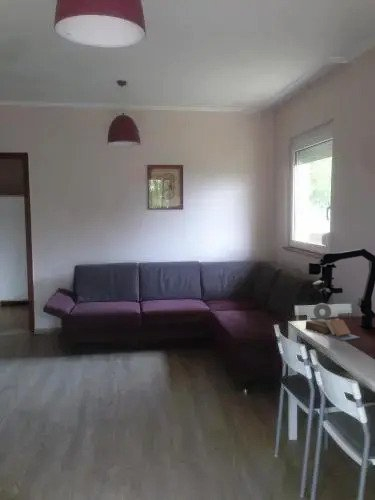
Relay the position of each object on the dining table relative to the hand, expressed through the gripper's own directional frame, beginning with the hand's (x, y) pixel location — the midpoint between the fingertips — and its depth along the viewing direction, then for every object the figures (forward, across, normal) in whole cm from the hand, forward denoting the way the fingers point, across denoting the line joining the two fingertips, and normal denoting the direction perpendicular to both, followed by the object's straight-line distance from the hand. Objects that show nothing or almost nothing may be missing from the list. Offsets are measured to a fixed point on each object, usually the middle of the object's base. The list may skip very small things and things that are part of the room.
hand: (325, 303), depth 251 cm
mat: (+12, +22, -10) cm, 27 cm away
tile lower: (+9, +17, -10) cm, 21 cm away
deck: (+12, +9, -10) cm, 18 cm away
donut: (+12, -8, +6) cm, 16 cm away
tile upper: (+9, +20, -10) cm, 24 cm away
